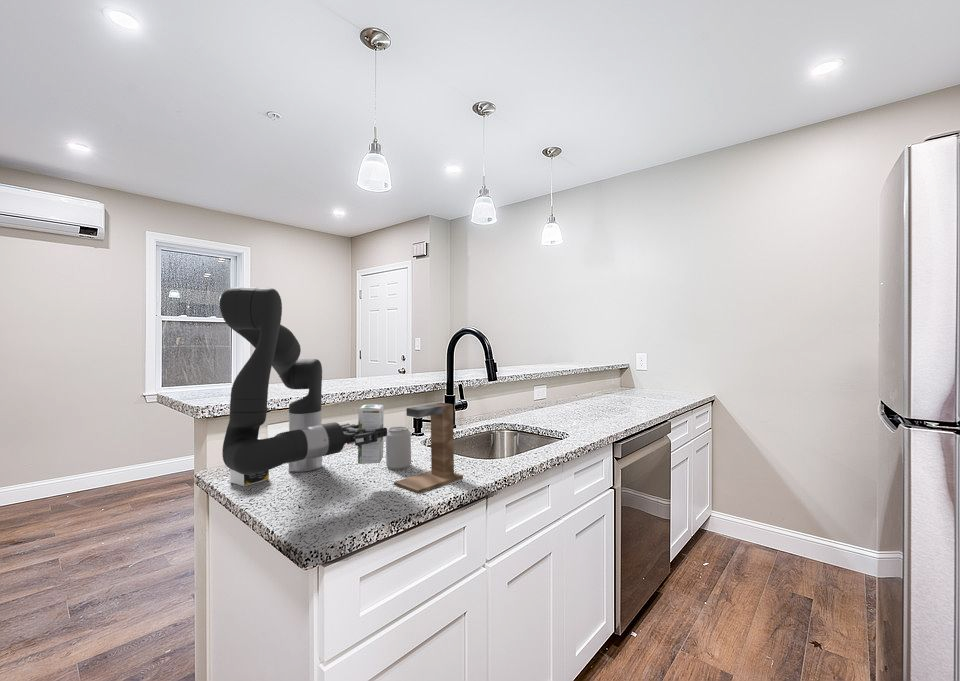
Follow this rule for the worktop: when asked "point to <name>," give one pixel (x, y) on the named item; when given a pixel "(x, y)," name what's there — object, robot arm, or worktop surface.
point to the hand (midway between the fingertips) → (377, 429)
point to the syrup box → (370, 420)
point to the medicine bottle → (248, 477)
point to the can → (398, 448)
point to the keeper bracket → (435, 449)
